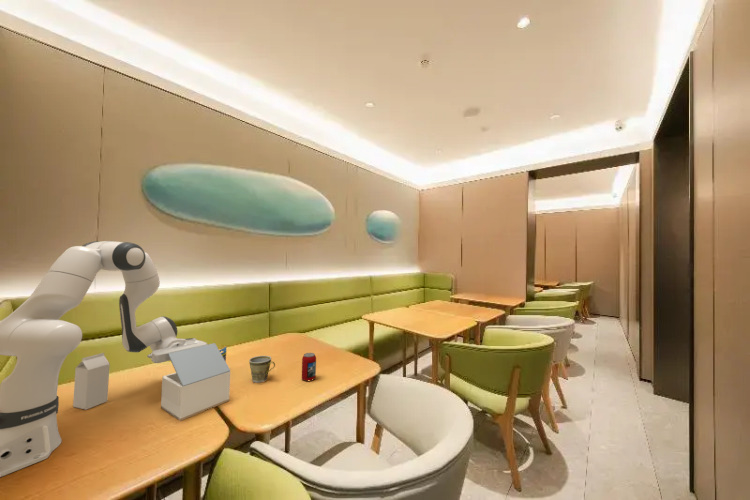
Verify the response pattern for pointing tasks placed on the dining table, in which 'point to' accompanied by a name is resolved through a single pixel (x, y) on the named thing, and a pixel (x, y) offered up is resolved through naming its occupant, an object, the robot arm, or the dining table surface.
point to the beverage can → (308, 366)
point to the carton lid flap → (198, 363)
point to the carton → (193, 395)
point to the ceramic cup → (260, 368)
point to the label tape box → (223, 353)
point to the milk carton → (91, 382)
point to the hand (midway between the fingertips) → (189, 355)
